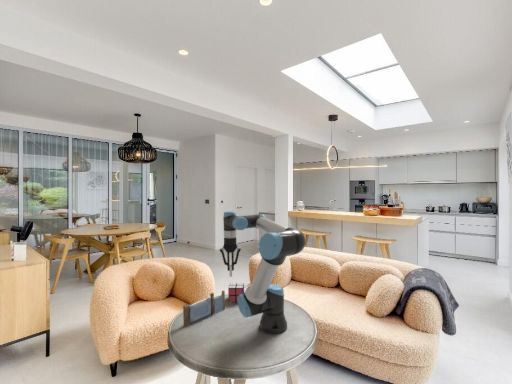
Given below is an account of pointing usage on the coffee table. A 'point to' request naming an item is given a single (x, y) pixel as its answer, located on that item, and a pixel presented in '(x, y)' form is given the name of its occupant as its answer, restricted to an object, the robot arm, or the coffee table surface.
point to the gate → (200, 310)
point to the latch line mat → (200, 319)
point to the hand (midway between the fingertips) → (230, 275)
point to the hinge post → (212, 303)
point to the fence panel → (219, 302)
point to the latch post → (186, 315)
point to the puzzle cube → (235, 291)
